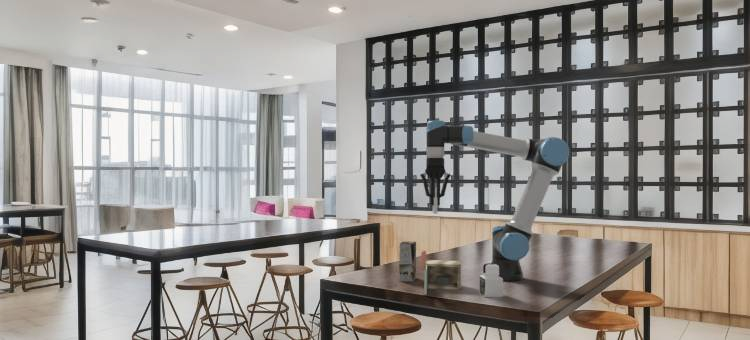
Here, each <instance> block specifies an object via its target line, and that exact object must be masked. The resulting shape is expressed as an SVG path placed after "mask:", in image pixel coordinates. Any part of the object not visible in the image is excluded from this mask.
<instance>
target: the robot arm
mask: <svg viewBox="0 0 750 340" xmlns="http://www.w3.org/2000/svg"><path fill="white" fill-rule="evenodd" d="M446 144H450V145H452V146H460V147H465V148H471V149H477V150H482V151H487V152H492V153H498V154H503V155H509V156H514V157H520V158H522V160H524V161H528V162H531V166H532V171H531V172H530V173H531V174H530V175H529V178H528V180H527V182H526V185H525V187H524V190H523V192H522V194H521V197H520V199H519V202H518V204H517V205H516V209H515V211H514V213H513V215H512V217H511V220H510V221H507V222H505V225H494V226H493V228H492V232H491V234H492V239H491V240H492V244H491V246H492V255H491V257H492V258H491V262H490V263H493V264H497V265H499V275H498V276H499V277H501V278H503V282H513V281H514V282H515V281H517V282H518V281H522V280H523V279H524V272H523V269H522V266H521V263H520V260H522V259H523V258H525V257H526V256H527V255H528V253H529V251H530V241H531V239H532V237H533V232H532V227H533V225H534V222H535V220H536V217H537V215H538V212H539V210H540V208H541V205H542V203H543V202H544V198H545V197H546V194H547V191H548V189H549V188H550V184H551V182H552V180H553V177H554V176H556V175H558V174H559V172H560V171H561V169H562V165H564V164H565V163H566V162H567V161H568V159H569V157H570V147H569V145H568V143H567V142H566V141H565V140H563V139H562V138H559V137H555V136H554V137H553V136H551V137H550V136H549V137H546V138H543V139H541V138H540V139H532V138H526V139H520V138H515V137H508V136H502V135H498V134H497V135H496V134H494V133H493V134H491V133H487V132H486V133H485V132H481V131H476V130H475V131H474V127H473V126H472V125H447V124H445V121H444V120H438V119H437V120H428V122H427V124H426V157H427V158H426V163H425V164H426V165H425V166H426V168H425V170H424V172H422V173H420V174H419V176H420V178H421V179H422V180H421V181H422V184H423V188H424V191H425V192H424V193H425V196H426V197H429V198H430V199H429V200H430V203H429V205H430V206H432V214H433V215H434V214H435V215H436V214H437V215H438V206H440V203H441V198H442V197H444V196H445V194H446V190H447V185H448V182H449V179H450V178H451V176H452V175H451V174H450V173H448V172H446V168H445V158H444V157H445V145H446ZM426 177H428V178H429V181H430V186H428V180H427V178H426ZM442 178H444V179H443V183H442V186H441V179H442ZM435 185H436V186H435ZM429 188H430V189H429ZM435 188H436V189H435ZM435 193H436V194H435ZM435 195H436V196H435Z"/></svg>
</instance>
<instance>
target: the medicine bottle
mask: <svg viewBox="0 0 750 340" xmlns="http://www.w3.org/2000/svg"><path fill="white" fill-rule="evenodd" d="M482 268H483V269H482V272H483V273H482V274H481V275H479V294H480V295H481V296H482V297H484V298H503V297H504V281H503V278H501V277H499V276H498V275H499V265H497V264H493V263H491V262H490V263H484V264H483V265H482Z"/></svg>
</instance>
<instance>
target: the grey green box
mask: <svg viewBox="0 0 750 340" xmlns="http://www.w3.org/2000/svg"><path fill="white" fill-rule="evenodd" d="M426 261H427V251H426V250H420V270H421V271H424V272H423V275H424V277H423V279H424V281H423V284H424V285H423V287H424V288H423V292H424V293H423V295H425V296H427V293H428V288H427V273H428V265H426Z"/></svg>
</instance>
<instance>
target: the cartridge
mask: <svg viewBox="0 0 750 340" xmlns="http://www.w3.org/2000/svg"><path fill="white" fill-rule="evenodd" d="M437 285H447V286H449V276H437Z"/></svg>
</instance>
